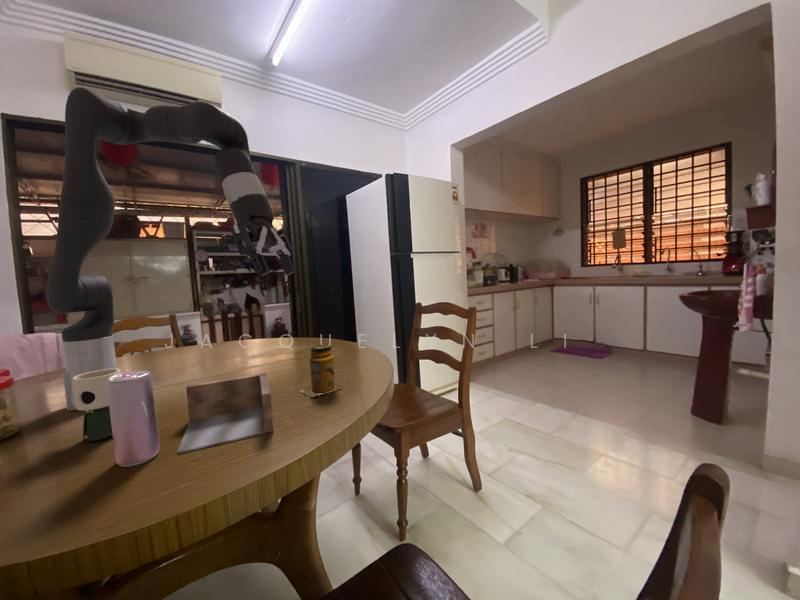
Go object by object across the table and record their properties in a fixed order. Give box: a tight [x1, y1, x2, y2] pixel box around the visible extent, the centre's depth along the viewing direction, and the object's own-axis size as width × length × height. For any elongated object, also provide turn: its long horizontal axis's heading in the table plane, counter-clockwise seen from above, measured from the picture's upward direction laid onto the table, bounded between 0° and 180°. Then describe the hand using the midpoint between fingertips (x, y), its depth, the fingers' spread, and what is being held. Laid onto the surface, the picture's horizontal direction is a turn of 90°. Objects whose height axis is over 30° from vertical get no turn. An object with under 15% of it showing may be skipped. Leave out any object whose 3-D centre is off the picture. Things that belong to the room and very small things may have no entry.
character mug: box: [72, 368, 122, 442], centre depth 65 cm, size 11×7×13 cm, turn 73°
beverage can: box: [107, 369, 161, 468], centre depth 56 cm, size 6×6×15 cm
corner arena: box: [177, 372, 274, 455], centre depth 67 cm, size 16×15×8 cm
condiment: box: [299, 344, 336, 397], centre depth 85 cm, size 7×8×12 cm
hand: (278, 274), depth 66 cm, fingers open, 8 cm apart
